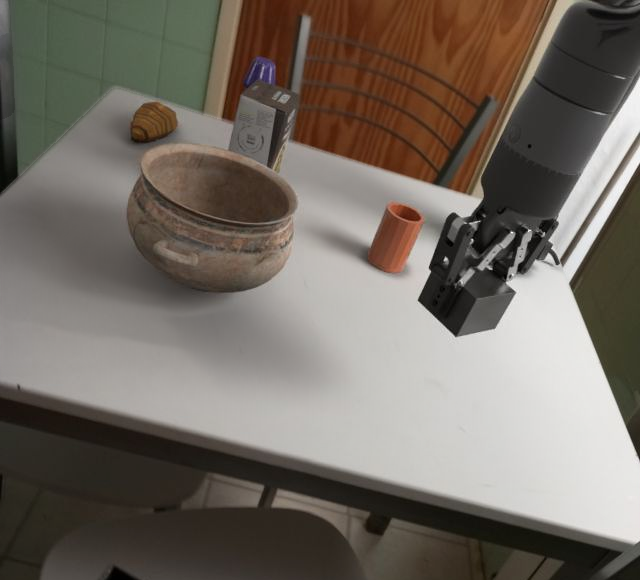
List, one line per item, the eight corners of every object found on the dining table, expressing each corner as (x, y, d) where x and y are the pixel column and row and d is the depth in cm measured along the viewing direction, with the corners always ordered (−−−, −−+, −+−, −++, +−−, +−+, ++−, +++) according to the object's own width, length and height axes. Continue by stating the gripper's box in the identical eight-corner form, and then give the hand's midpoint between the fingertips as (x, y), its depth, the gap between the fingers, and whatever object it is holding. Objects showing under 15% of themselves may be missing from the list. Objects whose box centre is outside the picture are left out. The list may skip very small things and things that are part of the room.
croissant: (155, 155, 102) (160, 122, 99) (113, 137, 102) (117, 103, 99) (190, 130, 112) (195, 99, 109) (152, 114, 112) (156, 83, 109)
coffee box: (256, 227, 95) (287, 112, 85) (212, 211, 95) (238, 92, 85) (272, 203, 102) (302, 94, 92) (231, 187, 102) (257, 76, 91)
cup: (387, 250, 103) (407, 201, 98) (410, 271, 100) (432, 222, 95) (359, 252, 99) (379, 202, 94) (382, 274, 97) (404, 224, 92)
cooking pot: (178, 209, 92) (194, 119, 85) (305, 266, 92) (333, 181, 84) (71, 286, 73) (79, 179, 65) (229, 359, 73) (257, 261, 65)
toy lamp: (223, 162, 107) (248, 50, 97) (252, 169, 109) (280, 59, 98) (223, 175, 104) (249, 60, 93) (253, 183, 105) (282, 70, 95)
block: (456, 294, 72) (475, 257, 69) (495, 329, 69) (516, 292, 66) (416, 300, 68) (435, 261, 65) (455, 337, 65) (476, 299, 62)
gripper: (523, 170, 51) (433, 344, 62) (623, 170, 60) (528, 323, 71) (458, 123, 55) (384, 295, 66) (561, 130, 63) (479, 281, 74)
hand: (459, 309), depth 68 cm, fingers closed on block, 6 cm apart
